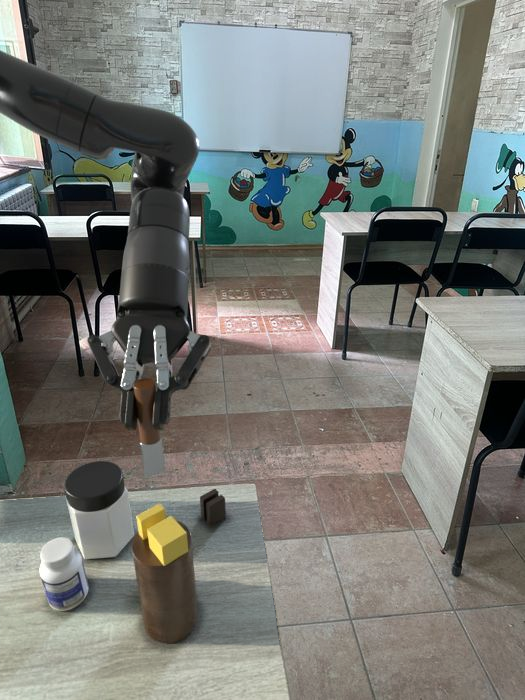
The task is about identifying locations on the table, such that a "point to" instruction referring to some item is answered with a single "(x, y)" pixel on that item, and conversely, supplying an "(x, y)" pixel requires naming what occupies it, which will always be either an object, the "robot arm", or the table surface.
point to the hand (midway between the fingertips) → (144, 428)
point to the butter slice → (150, 519)
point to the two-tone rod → (148, 428)
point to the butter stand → (166, 591)
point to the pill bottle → (63, 574)
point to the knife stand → (212, 507)
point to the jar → (99, 509)
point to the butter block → (167, 540)
